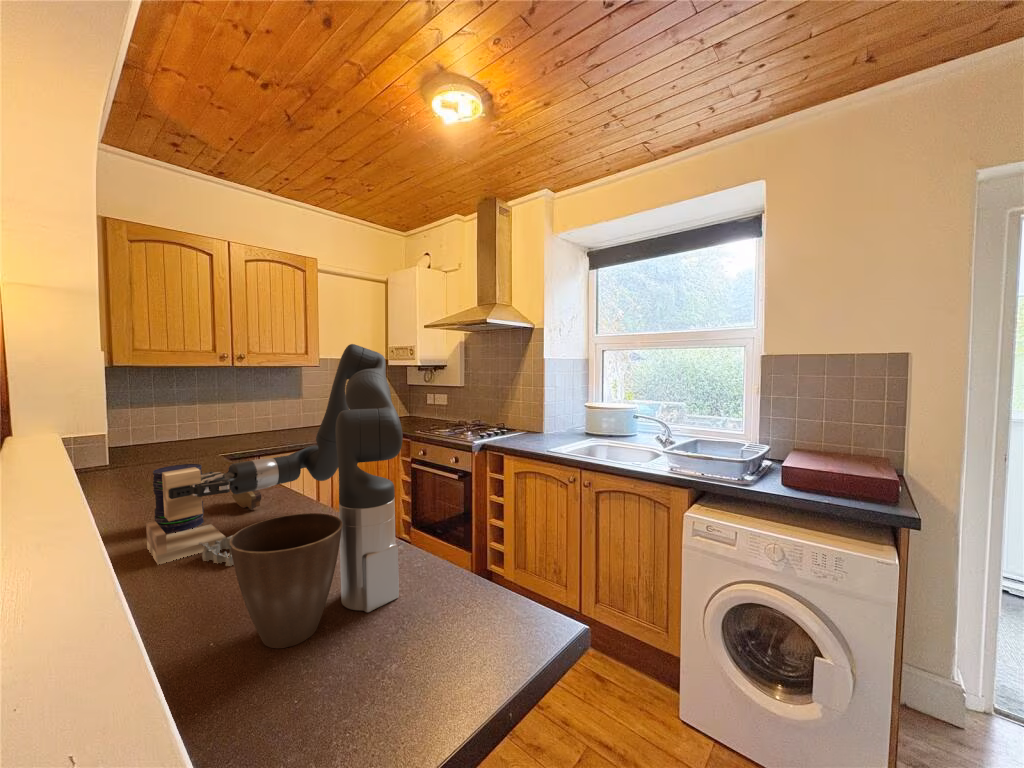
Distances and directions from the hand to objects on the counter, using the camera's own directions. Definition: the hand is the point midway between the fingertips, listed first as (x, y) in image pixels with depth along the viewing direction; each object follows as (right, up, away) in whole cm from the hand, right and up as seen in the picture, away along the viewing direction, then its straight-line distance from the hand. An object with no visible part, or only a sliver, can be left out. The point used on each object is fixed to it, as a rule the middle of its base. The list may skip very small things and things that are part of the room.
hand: (167, 491), depth 91 cm
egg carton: (+15, -14, -2) cm, 21 cm away
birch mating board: (+2, -13, +3) cm, 14 cm away
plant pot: (+42, -15, -27) cm, 52 cm away
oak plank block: (+2, -6, +2) cm, 7 cm away
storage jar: (-9, -13, +15) cm, 22 cm away
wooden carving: (-2, -12, +30) cm, 33 cm away
